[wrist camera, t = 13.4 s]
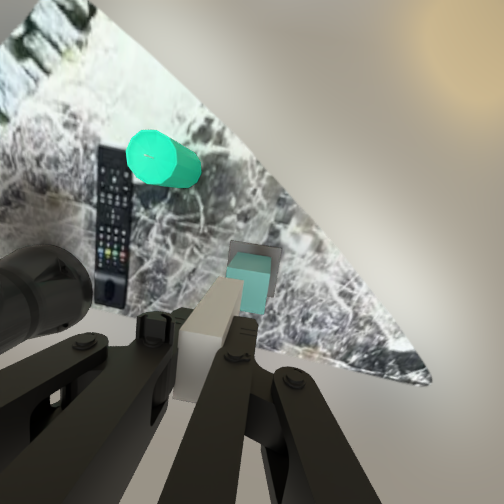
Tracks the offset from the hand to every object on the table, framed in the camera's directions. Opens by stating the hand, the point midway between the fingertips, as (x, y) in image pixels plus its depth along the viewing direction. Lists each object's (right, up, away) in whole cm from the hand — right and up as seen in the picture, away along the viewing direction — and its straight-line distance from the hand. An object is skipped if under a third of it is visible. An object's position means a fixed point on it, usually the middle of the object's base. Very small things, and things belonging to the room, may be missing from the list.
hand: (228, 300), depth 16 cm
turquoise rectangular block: (+1, 0, +26) cm, 26 cm away
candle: (-9, +16, +25) cm, 31 cm away
